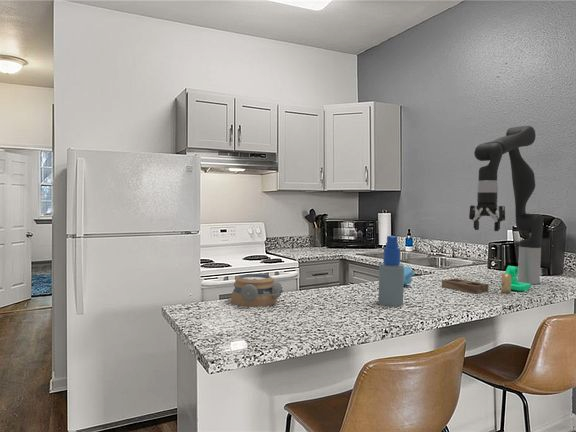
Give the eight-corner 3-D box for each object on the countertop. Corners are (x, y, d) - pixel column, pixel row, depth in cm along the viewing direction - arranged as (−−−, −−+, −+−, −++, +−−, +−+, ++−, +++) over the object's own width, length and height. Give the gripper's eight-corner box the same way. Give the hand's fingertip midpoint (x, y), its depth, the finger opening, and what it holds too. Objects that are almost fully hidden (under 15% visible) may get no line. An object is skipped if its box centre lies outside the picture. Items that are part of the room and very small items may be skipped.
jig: (454, 284, 193) (454, 278, 193) (488, 291, 181) (488, 284, 180) (441, 287, 188) (441, 280, 187) (475, 293, 175) (475, 286, 174)
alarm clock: (265, 271, 166) (293, 281, 146) (265, 294, 167) (293, 308, 146) (224, 274, 158) (248, 285, 138) (224, 298, 159) (247, 313, 138)
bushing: (503, 291, 180) (504, 273, 180) (512, 293, 177) (512, 274, 177) (499, 292, 178) (500, 273, 178) (508, 294, 175) (508, 275, 175)
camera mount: (520, 293, 179) (521, 269, 178) (501, 290, 185) (502, 266, 184) (531, 289, 186) (532, 266, 186) (513, 286, 192) (514, 264, 192)
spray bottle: (379, 299, 161) (381, 234, 160) (403, 302, 158) (405, 235, 157) (376, 305, 152) (378, 236, 151) (402, 307, 149) (404, 237, 149)
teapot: (422, 286, 188) (423, 264, 187) (402, 290, 179) (403, 266, 179) (390, 280, 202) (390, 259, 202) (370, 283, 193) (371, 261, 193)
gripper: (509, 191, 171) (508, 231, 172) (476, 192, 183) (475, 229, 183) (499, 191, 167) (498, 232, 167) (466, 191, 178) (465, 229, 179)
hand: (486, 230), depth 175 cm, fingers open, 8 cm apart
